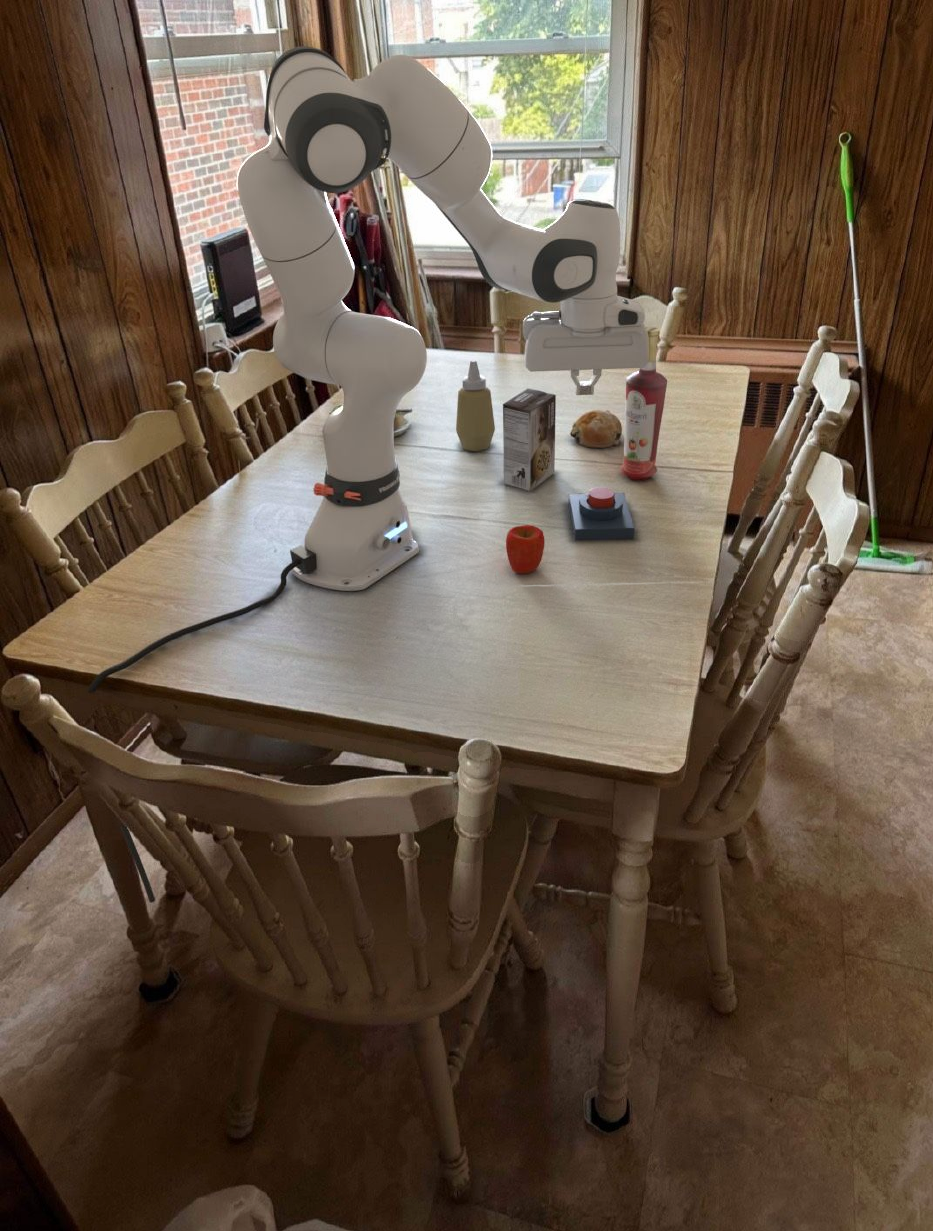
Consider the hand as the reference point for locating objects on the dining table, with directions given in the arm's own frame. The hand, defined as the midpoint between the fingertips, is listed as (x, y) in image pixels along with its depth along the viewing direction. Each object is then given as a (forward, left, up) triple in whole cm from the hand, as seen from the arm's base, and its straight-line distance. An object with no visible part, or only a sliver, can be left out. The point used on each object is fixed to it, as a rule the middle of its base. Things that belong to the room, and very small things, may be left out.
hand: (584, 394), depth 148 cm
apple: (-24, +1, -21) cm, 32 cm away
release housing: (-4, -5, -21) cm, 22 cm away
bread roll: (+29, +7, -21) cm, 37 cm away
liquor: (+16, -6, -21) cm, 27 cm away
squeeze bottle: (+17, +29, -21) cm, 40 cm away
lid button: (-4, -5, -18) cm, 19 cm away
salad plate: (+16, +55, -21) cm, 61 cm away
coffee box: (+7, +13, -21) cm, 26 cm away
